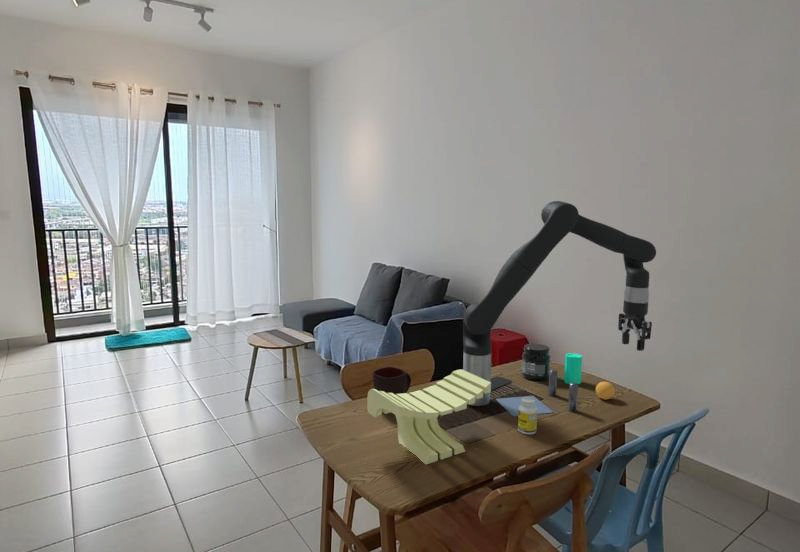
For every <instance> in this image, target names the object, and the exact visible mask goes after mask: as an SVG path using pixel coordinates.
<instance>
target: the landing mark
mask: <svg viewBox="0 0 800 552" xmlns="http://www.w3.org/2000/svg"><path fill="white" fill-rule="evenodd" d="M523 397H532V398H534V399H535V406H536V407H537V415H544V414H546V415H547V414H554V411H553V410H551V408H549V407H548V406H547V405H545V404H544V403H543V402H542V401H540V400H539V399H538V398H537V397H535V396H534V395H525V396H513V397H502V398H501V397H499V398H495V400H496V402H497V403H499V405H500V406H501V407H503V408H504V409H505V411H507V412H508V413H509V414H510V416H511V417H518V410H519V406H520V405H521V398H523Z"/></svg>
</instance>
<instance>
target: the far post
mask: <svg viewBox="0 0 800 552" xmlns="http://www.w3.org/2000/svg"><path fill="white" fill-rule="evenodd" d="M557 383H558V370H557V369H554V368H553V369H551V368H550V373H549V378H548V397H553V398H554V397H555V398H556V397H557V389H558V388H557V387H558V385H557Z"/></svg>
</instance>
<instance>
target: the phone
mask: <svg viewBox="0 0 800 552" xmlns="http://www.w3.org/2000/svg"><path fill="white" fill-rule="evenodd" d="M490 382H491V392H493V391H495V390H498V389H500V388H501V387H504V386H507V385H510V384H511V383H513V380H511V379H508V378H505V377H502V376H494V377H491V380H490Z"/></svg>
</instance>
